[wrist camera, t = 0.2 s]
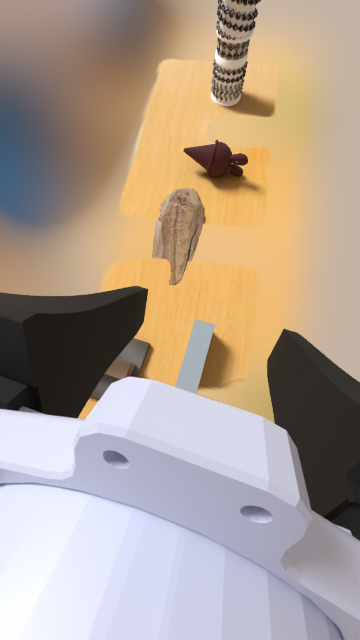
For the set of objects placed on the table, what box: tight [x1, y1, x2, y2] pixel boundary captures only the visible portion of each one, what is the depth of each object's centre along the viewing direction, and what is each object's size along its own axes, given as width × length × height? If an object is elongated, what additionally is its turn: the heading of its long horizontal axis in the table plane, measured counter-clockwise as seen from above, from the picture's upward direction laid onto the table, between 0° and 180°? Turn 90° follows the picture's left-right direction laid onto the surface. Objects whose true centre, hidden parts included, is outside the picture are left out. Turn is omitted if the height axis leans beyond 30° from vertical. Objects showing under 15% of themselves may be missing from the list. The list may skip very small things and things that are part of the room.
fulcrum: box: [91, 338, 150, 399], centre depth 39 cm, size 12×12×4 cm
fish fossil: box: [152, 188, 204, 285], centre depth 49 cm, size 26×10×1 cm, turn 175°
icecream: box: [184, 140, 248, 177], centre depth 51 cm, size 7×7×15 cm
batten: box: [176, 319, 215, 394], centre depth 37 cm, size 24×4×5 cm, turn 163°
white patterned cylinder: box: [211, 0, 261, 106], centre depth 50 cm, size 9×9×25 cm
